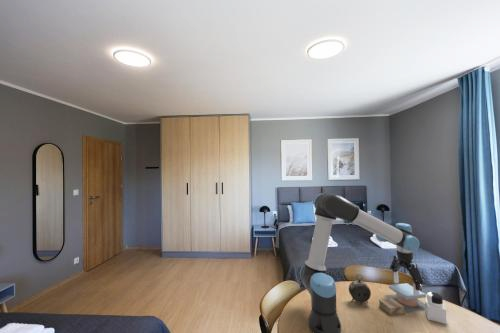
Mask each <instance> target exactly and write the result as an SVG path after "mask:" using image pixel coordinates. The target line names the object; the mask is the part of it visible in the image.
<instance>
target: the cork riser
mask: <svg viewBox="0 0 500 333" xmlns="http://www.w3.org/2000/svg"><path fill="white" fill-rule="evenodd" d="M378 301H379V306H378V307H380V308H381V309H382V310H383V311H385V313H387V314H388V315H389V316H398V315H400V316H401V315H405V311H404V306H402V305H401V304H399V303H398V302H397V301H395V300H394V299H393V298H390V299H388V298H382V299H379V300H378Z"/></svg>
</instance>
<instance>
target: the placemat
mask: <svg viewBox="0 0 500 333" xmlns="http://www.w3.org/2000/svg"><path fill="white" fill-rule="evenodd" d="M384 297H385V299H390V298H393V299H394V300H395V301H397V296H396V293H395V294H389V295H384ZM397 302H398V301H397ZM398 303H399V302H398ZM399 304H401V303H399ZM401 305H402V304H401ZM402 306H404V313H412V312H413V313H414V312H421V311H426V309H425V302H423V301H421V300H419V299H418V306H417V307H408V306H405V305H402Z"/></svg>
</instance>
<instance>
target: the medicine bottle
mask: <svg viewBox="0 0 500 333" xmlns="http://www.w3.org/2000/svg"><path fill="white" fill-rule="evenodd" d="M443 299H444V298H443V296H442V295H441V294H439V293H437V292H434V291H429V292H427V293H426V298H425V299H424V304H425V309H426V310H425V314H426V317H427V319H428V320H430V321H434V322H437V323H441V324H444V325H445V324H446V325H447V324H448V321H447V308H446V307H445V305H444V302H443Z"/></svg>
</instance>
